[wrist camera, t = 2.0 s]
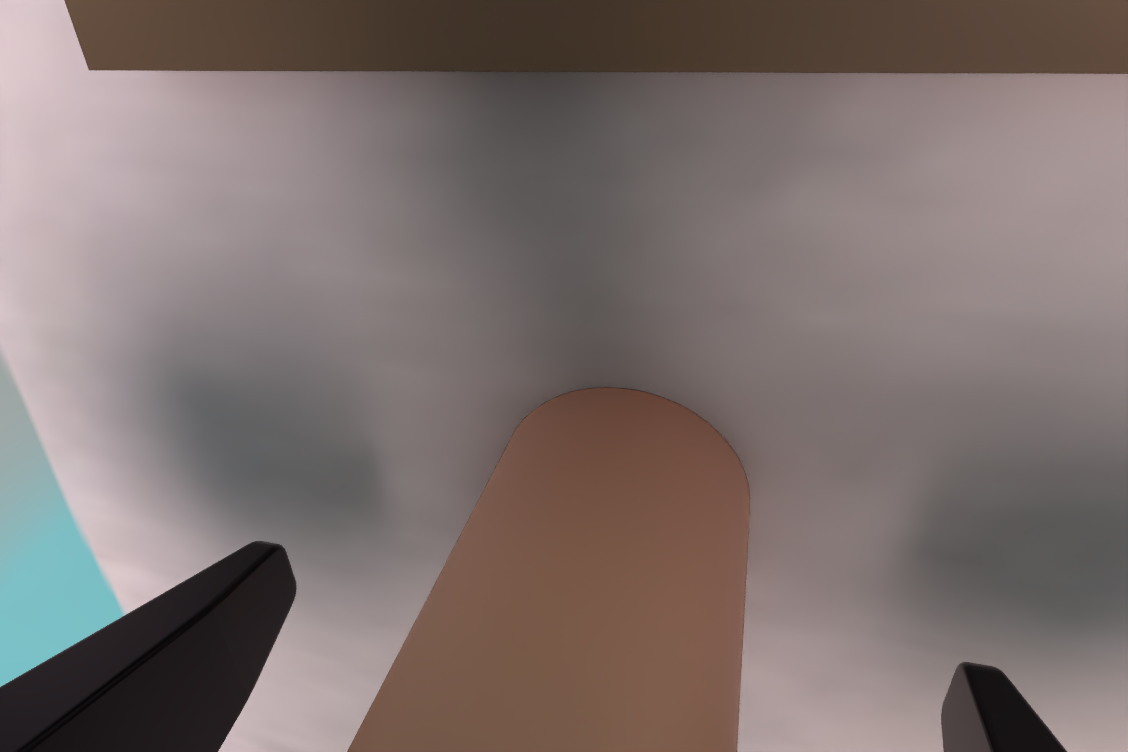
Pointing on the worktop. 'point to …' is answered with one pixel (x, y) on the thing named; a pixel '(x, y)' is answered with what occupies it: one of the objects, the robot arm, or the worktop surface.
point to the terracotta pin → (584, 594)
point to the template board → (606, 35)
